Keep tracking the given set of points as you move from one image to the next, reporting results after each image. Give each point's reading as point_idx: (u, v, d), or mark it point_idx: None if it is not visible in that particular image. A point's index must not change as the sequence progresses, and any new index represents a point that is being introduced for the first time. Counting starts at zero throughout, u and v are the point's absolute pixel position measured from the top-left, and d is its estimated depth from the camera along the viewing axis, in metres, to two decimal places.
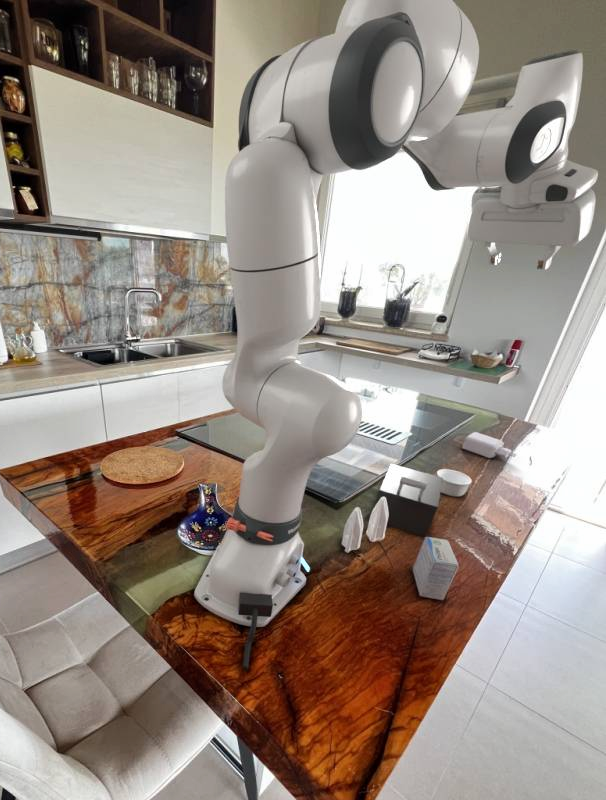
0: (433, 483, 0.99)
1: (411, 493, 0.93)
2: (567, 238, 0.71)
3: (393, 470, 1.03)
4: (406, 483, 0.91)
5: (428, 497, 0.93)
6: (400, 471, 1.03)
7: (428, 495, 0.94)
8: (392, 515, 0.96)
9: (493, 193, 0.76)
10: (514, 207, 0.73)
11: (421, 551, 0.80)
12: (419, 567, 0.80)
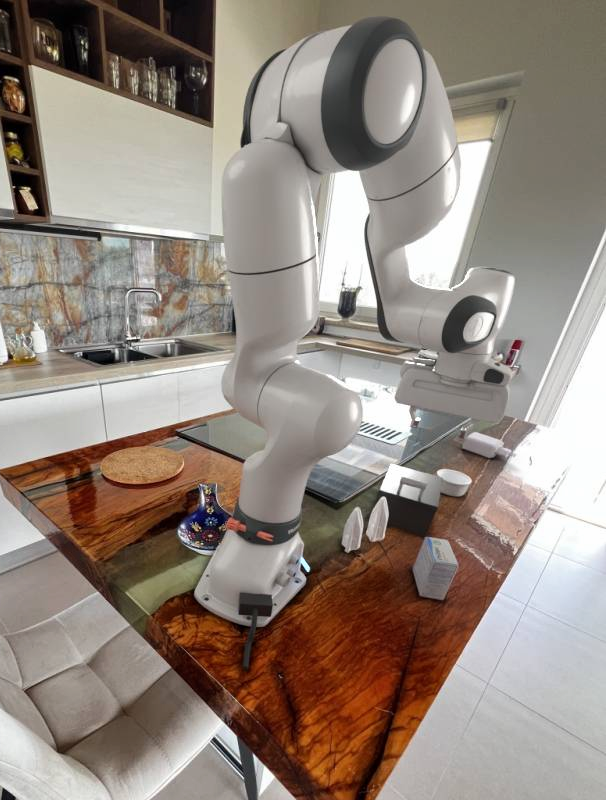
0: (433, 483, 0.99)
1: (411, 493, 0.93)
2: (493, 415, 0.78)
3: (393, 470, 1.03)
4: (406, 483, 0.91)
5: (428, 497, 0.93)
6: (400, 471, 1.03)
7: (428, 495, 0.94)
8: (392, 515, 0.96)
9: (424, 366, 0.82)
10: (451, 380, 0.78)
11: (421, 551, 0.80)
12: (419, 567, 0.80)
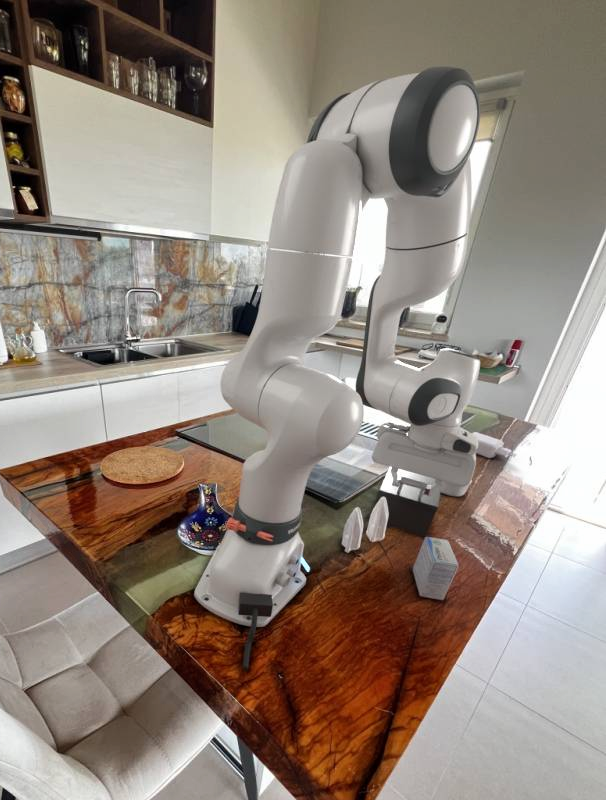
0: None
1: (411, 493, 0.93)
2: (461, 479, 0.85)
3: None
4: (406, 483, 0.91)
5: (428, 497, 0.93)
6: (400, 471, 1.03)
7: None
8: (392, 515, 0.96)
9: (399, 430, 0.88)
10: (424, 447, 0.84)
11: (421, 551, 0.80)
12: (419, 567, 0.80)
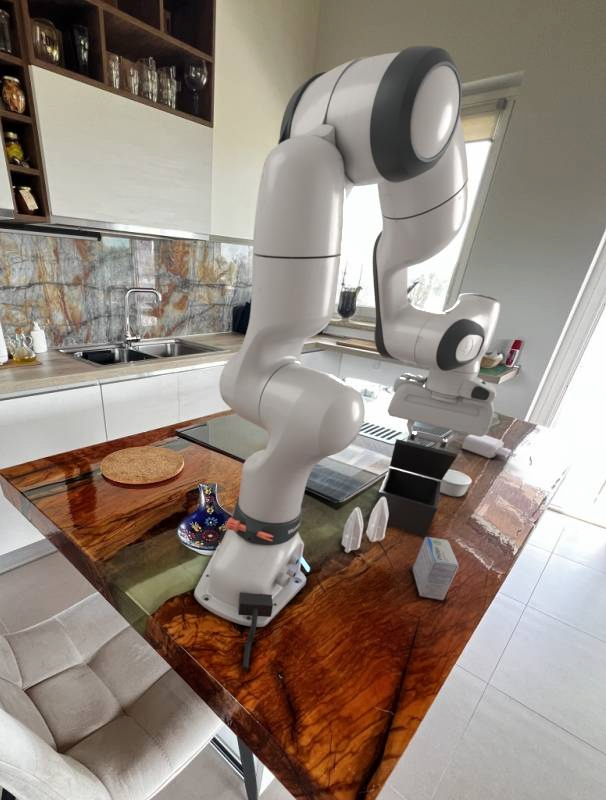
0: None
1: None
2: (479, 429, 0.85)
3: None
4: (422, 435, 0.91)
5: None
6: None
7: None
8: (392, 515, 0.96)
9: (416, 382, 0.88)
10: (441, 396, 0.84)
11: (421, 551, 0.80)
12: (419, 567, 0.80)
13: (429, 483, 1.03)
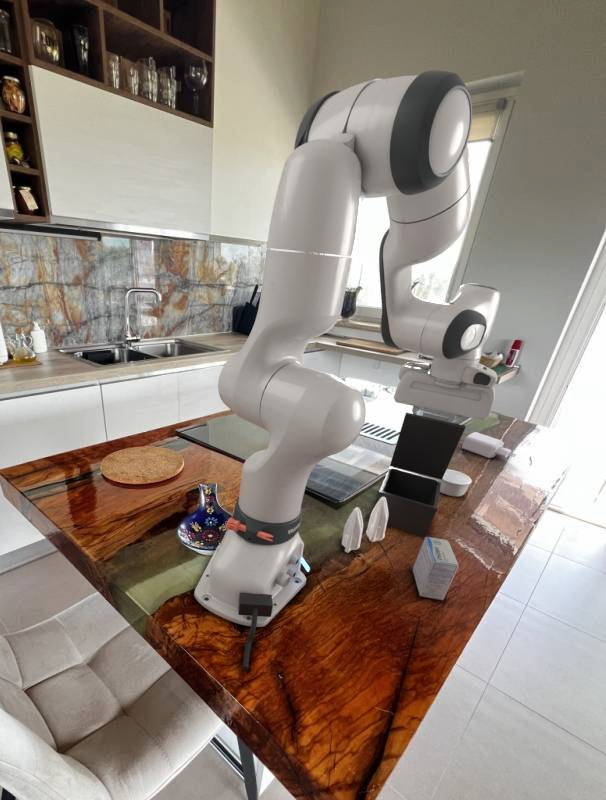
0: None
1: None
2: (481, 413, 0.89)
3: None
4: (429, 414, 0.95)
5: None
6: None
7: None
8: (392, 515, 0.96)
9: (420, 369, 0.92)
10: (445, 382, 0.88)
11: (421, 551, 0.80)
12: (419, 567, 0.80)
13: (429, 483, 1.03)
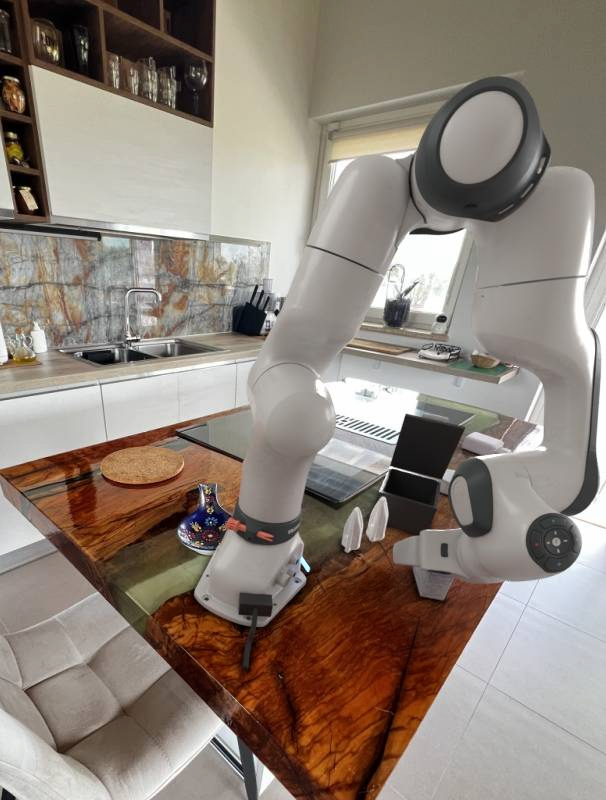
0: None
1: None
2: None
3: None
4: (429, 415, 0.95)
5: None
6: None
7: None
8: (392, 515, 0.96)
9: None
10: None
11: None
12: (419, 567, 0.80)
13: (429, 483, 1.03)
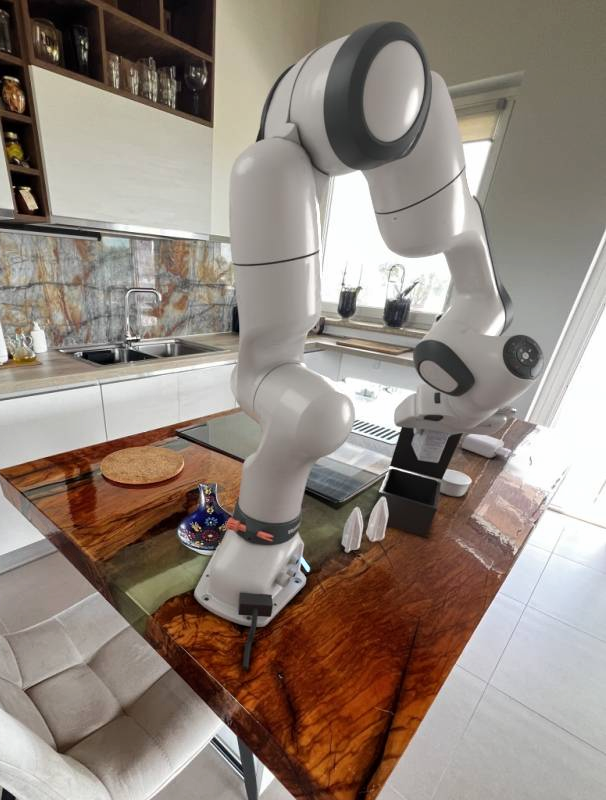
0: None
1: None
2: None
3: None
4: None
5: None
6: None
7: None
8: (392, 515, 0.96)
9: None
10: None
11: None
12: (417, 437, 0.92)
13: (429, 483, 1.03)
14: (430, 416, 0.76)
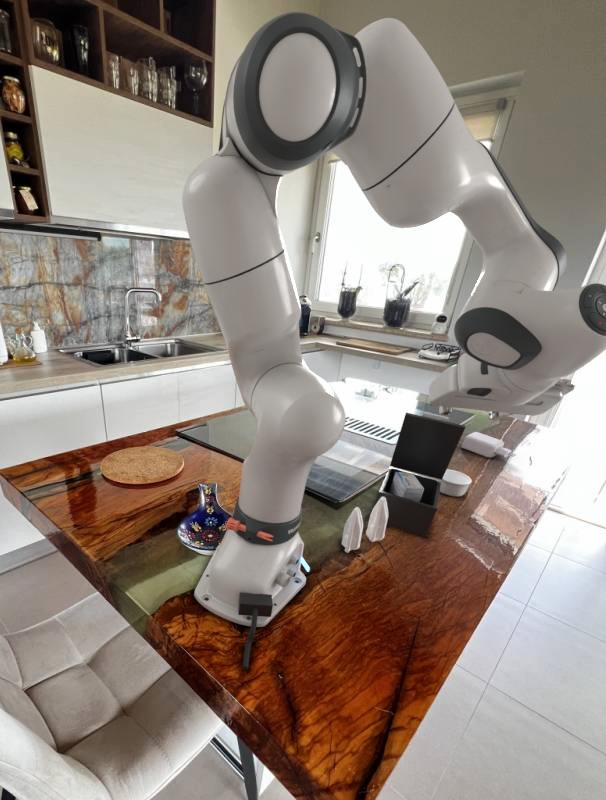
0: None
1: None
2: None
3: None
4: (429, 414, 0.95)
5: None
6: None
7: None
8: (392, 515, 0.96)
9: None
10: None
11: (393, 484, 1.01)
12: None
13: (429, 483, 1.03)
14: (476, 390, 0.65)
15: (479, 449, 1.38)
